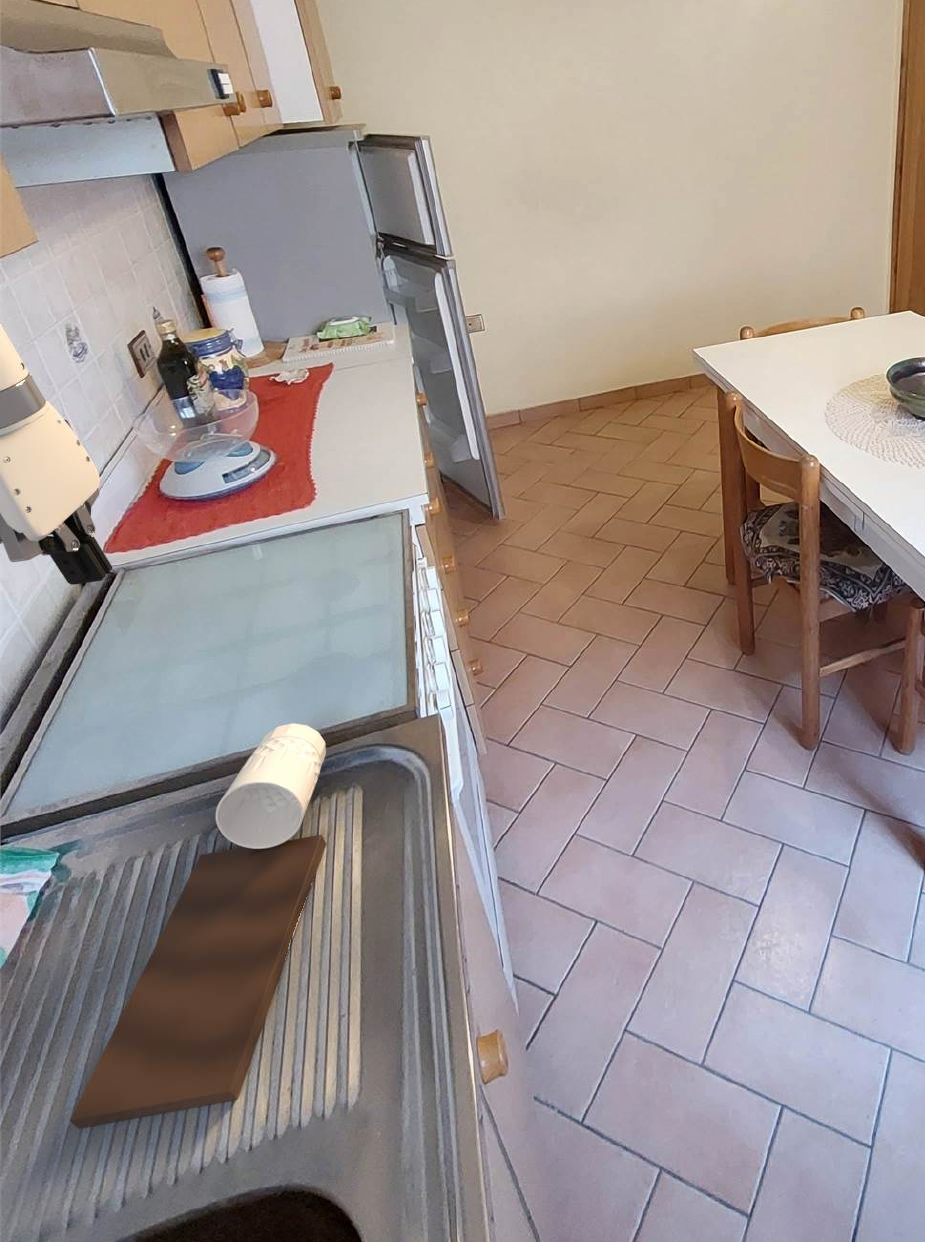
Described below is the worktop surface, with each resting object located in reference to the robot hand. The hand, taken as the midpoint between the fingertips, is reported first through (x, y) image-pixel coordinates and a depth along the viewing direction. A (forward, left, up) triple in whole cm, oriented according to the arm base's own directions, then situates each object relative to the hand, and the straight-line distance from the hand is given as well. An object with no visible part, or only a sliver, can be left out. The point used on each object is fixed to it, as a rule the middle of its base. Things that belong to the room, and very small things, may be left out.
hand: (91, 576), depth 73 cm
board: (+10, -21, -29) cm, 38 cm away
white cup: (+10, -1, -26) cm, 28 cm away
